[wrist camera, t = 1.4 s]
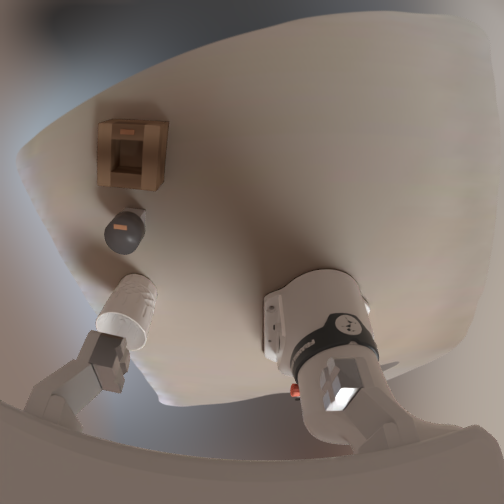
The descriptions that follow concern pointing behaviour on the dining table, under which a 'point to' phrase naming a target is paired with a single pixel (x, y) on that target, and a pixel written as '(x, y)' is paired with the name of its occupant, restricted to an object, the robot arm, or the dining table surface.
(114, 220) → the knob
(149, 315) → the white cup
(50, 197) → the dining table surface
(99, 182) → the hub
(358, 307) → the robot arm
